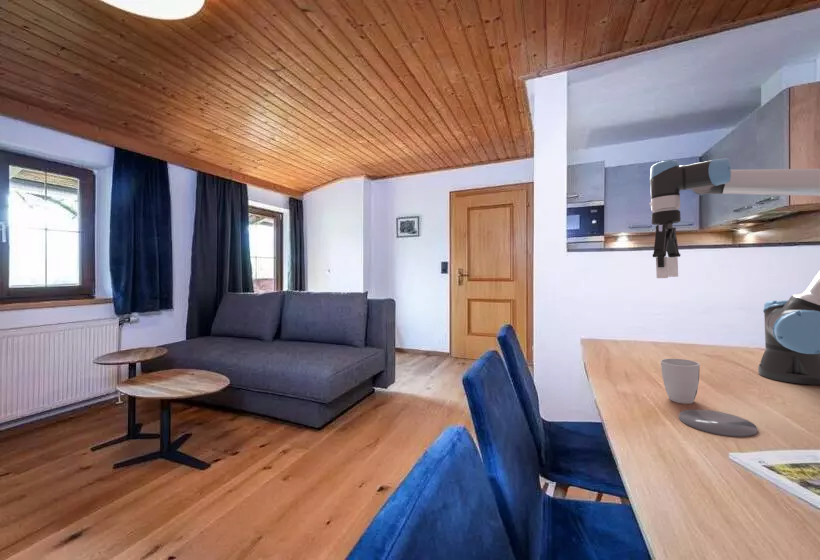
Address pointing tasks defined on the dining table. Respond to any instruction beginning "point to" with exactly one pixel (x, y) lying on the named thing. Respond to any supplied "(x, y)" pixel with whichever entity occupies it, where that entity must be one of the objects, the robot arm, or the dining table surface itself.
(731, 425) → the coaster
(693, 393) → the cup
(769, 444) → the dining table surface
